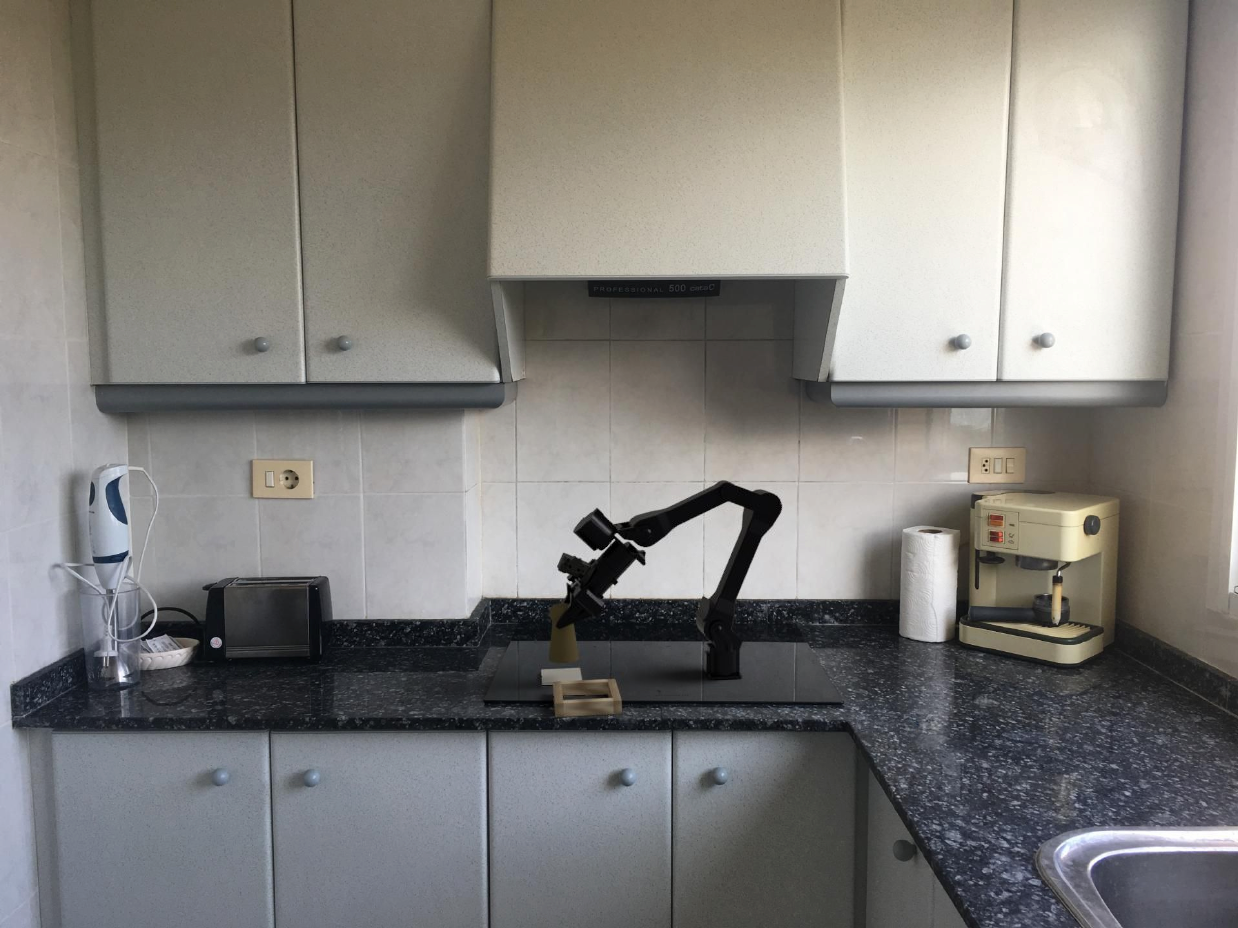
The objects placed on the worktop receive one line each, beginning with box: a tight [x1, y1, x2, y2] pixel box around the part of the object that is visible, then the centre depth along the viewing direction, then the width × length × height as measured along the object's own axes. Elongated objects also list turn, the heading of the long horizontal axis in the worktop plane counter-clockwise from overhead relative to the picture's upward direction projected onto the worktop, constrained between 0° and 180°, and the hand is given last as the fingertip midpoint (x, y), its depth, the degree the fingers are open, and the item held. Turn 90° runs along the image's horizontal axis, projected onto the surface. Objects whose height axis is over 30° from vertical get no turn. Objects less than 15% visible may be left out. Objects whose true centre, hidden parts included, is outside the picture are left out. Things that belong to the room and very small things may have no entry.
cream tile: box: [540, 667, 583, 686], centre depth 183 cm, size 8×8×1 cm
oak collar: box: [552, 678, 623, 718], centre depth 168 cm, size 12×12×2 cm
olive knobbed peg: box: [548, 603, 580, 664], centre depth 179 cm, size 6×6×11 cm
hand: (556, 623), depth 178 cm, fingers closed on olive knobbed peg, 5 cm apart
